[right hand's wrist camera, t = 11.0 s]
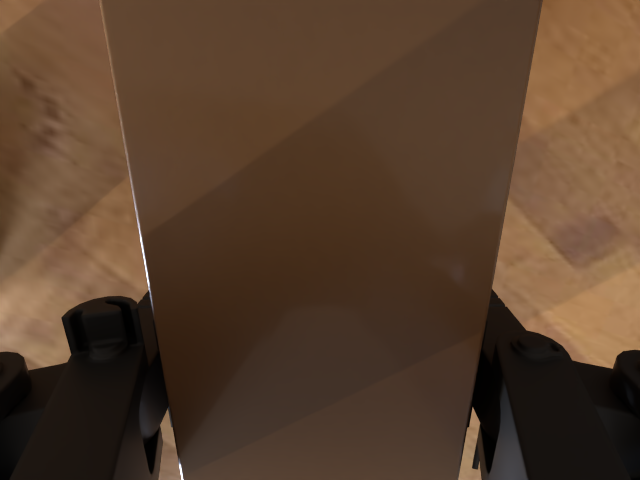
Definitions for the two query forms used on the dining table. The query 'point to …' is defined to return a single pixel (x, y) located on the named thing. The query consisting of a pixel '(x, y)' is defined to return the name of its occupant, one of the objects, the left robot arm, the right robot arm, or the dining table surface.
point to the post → (320, 221)
